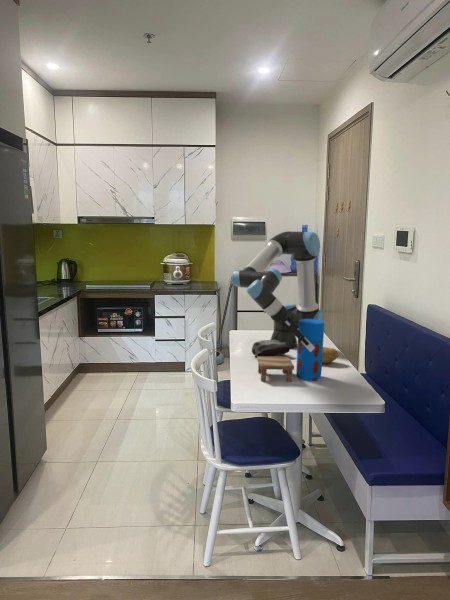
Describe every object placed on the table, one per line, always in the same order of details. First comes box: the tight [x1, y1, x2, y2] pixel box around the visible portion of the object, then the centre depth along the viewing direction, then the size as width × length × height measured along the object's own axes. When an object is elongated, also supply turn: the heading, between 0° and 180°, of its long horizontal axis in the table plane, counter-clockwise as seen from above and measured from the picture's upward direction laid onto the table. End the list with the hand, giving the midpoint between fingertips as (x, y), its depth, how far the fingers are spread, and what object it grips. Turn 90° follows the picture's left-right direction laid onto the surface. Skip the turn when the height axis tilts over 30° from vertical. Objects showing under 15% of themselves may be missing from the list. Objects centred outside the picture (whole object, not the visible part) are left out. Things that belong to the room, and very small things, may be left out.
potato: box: [322, 346, 339, 365], centre depth 211 cm, size 10×14×8 cm
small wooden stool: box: [256, 355, 295, 383], centre depth 189 cm, size 14×14×7 cm
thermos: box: [295, 319, 325, 382], centre depth 189 cm, size 11×11×25 cm
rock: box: [251, 339, 291, 357], centre depth 219 cm, size 18×11×8 cm, turn 119°
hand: (309, 345), depth 188 cm, fingers open, 13 cm apart
